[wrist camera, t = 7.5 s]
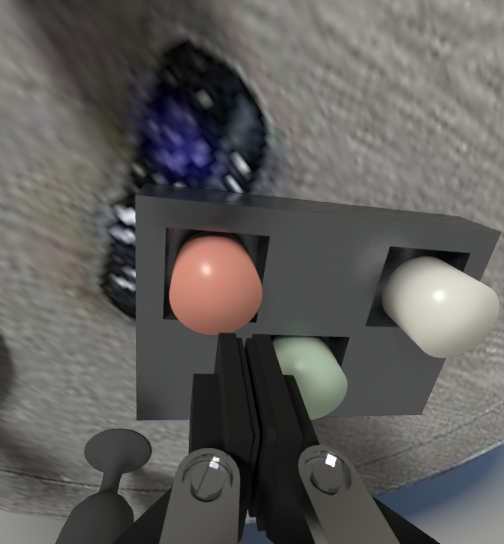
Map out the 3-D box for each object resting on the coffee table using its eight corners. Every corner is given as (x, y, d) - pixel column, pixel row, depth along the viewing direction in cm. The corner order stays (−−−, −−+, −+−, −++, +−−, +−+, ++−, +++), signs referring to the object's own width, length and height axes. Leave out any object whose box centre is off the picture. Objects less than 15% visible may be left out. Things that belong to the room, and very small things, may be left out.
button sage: (333, 328, 22) (355, 362, 19) (319, 380, 24) (337, 420, 20) (268, 326, 21) (280, 361, 18) (258, 380, 23) (268, 421, 20)
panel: (458, 216, 22) (501, 231, 19) (395, 381, 28) (420, 414, 24) (146, 183, 18) (135, 195, 15) (144, 381, 24) (136, 420, 21)
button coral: (256, 233, 18) (268, 256, 15) (246, 302, 20) (255, 336, 17) (176, 226, 18) (171, 249, 15) (172, 299, 19) (167, 333, 16)
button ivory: (462, 258, 19) (513, 285, 16) (436, 323, 21) (478, 358, 18) (394, 253, 18) (434, 280, 15) (372, 320, 20) (405, 357, 17)
